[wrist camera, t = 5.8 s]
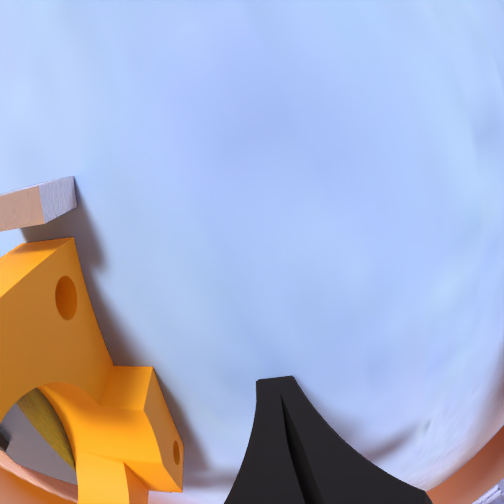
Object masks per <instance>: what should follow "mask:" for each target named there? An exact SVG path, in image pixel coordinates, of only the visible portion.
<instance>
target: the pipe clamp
mask: <svg viewBox="0 0 504 504" xmlns="http://www.w3.org/2000/svg"><path fill="white" fill-rule="evenodd" d="M36 387H37V388H38V389H39V390H40V391H41V392H42V393H43V394H44V395H45V397H46V398H47V399H48V400H49V402H50V403H51V405H52V406H53V408H54V409H55V411H56V413H57V414H58V416H59V418H60V420H61V422H62V424H63V426H64V429H65V431H66V434H67V436H68V439H69V442H70V445H71V449H72V453H73V457H74V461H75V467H76V473H77V481H78V504H147V503H148V492H149V490H153V491H165V492H181V493H182V487H183V457H184V445H183V443H182V440H181V438H180V436H179V434H178V431H177V429H176V427H175V424H174V422H173V419H172V417H171V414H170V412H169V409H168V407H167V404H166V402H165V399H164V397H163V394H162V391H161V388H160V386H159V383H158V380H157V377H156V374H155V371H154V369H153V367H141V366H114V365H113V362H112V360H111V357H110V355H109V352H108V350H107V347H106V345H105V342H104V340H103V337H102V334H101V331H100V329H99V326H98V323H97V320H96V317H95V314H94V311H93V308H92V305H91V302H90V298H89V295H88V292H87V288H86V285H85V281H84V278H83V274H82V270H81V266H80V262H79V258H78V254H77V250H76V245H75V241H74V237H69V238H61V239H53V240H45V241H37V242H29V243H22V244H20V245H19V246H17V247H16V248H14V249H13V250H11V251H10V252H8V253H7V254H5V255H4V256H2V257H1V258H0V423H1V421H2V420H3V418H4V416H5V415H6V414H7V412H8V411H9V410H10V408H11V407H12V406H13V405H14V404H15V403H16V402H17V401H18V400H19V399H20V398H21V397H22V396H23V395H25V394H26V393H28V392H29V391H31V390H32V389H34V388H36Z"/></svg>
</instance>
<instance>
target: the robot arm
mask: <svg viewBox="0 0 504 504" xmlns="http://www.w3.org/2000/svg"><path fill="white" fill-rule="evenodd" d="M256 400H257V402H256V411H255V417H254V422H253V427H252V432H251V436H250V439H249V443H248V447H247V450H246V453H245V456H244V459H243V462H242V465H241V468H240V470H239V473H238V475H237V477H236V480H235V482H234V484H233V487H232V489H231V491H230V493H229V495H228V497H227V499H226V501H225V503H224V504H433V503H432V501H431V500H430V498H429V497H428V495H427V494H426V492H425V491H423V490H421V489H418V488H416V487H414V486H411V485H409V484H407V483H405V482H403V481H401V480H399V479H397V478H395V477H394V476H392V475H390V474H388V473H387V472H385V471H384V470H382V469H380V468H379V467H377V466H376V465H374V464H373V463H371V462H370V461H368V460H367V459H366V458H364V457H363V456H362V455H361V454H359V453H358V452H357V451H356V450H354V449H353V448H352V447H351V446H350V445H349V444H347V443H346V442H345V441H344V440H343V439H342V438H341V437H340V436H339V435H338V434H337V433H336V432H335V431H334V430H333V429H332V428H331V427H330V426H329V425H328V423H327V422H326V421H325V420H324V419H323V418H322V416H321V415H320V414H319V413H318V412H317V410H316V409H315V408H314V407H313V405H312V404H311V403H310V401H309V400H308V399H307V397H306V396H305V394H304V393H303V391H302V390H301V388H300V387H299V385H298V384H297V382H296V380H295V378H294V377H293V376H285V377H277V378H268V379H259V380H258V381H256ZM472 504H504V479H502V480H501V481H500V482H499V483H497V484H496V485H495V486H494V487H492V488H491V489H490V490H488V491H487V492H486V493H485V494H483V495H482V496H481V497H480V498H479V499H477V500H476V501H475V502H473V503H472Z"/></svg>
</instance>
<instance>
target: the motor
mask: <svg viewBox="0 0 504 504" xmlns="http://www.w3.org/2000/svg"><path fill="white" fill-rule="evenodd" d="M75 207H77V201H76V194H75V187H74V178H73V176H69V177H64V178H60V179H55V180H51V181H47V182H42V183H38V184H34V185H30V186H27V187H23V188H19V189H16V190H12V191H9V192H6V193H3V194H0V232H1V231H6V230H11V229H17V228H22V227H28V226H34V225H40V224H45V223H47V222H49V221H51V220H53V219H54V218H56V217H58V216H60V215H62V214H64V213H66V212H68V211H69V210H71V209H73V208H75ZM0 450H2V451H4V452H5V453H6V454H7V455H8V456H9V457H10V458H11V459H12V460H13V461H14V462H15V463H17V464H19V465H21V466H24V467H26V468H29V469H31V470H34V471H36V472H39V473H41V474H44V475H47V476H50V477H52V478H55V479H58V480H62V481H65V482H68V483H71V484H75V485H78V481H77V473H76V467H75V461H74V457H73V453H72V449H71V445H70V442H69V439H68V436H67V434H66V431H65V429H64V426H63V424H62V422H61V420H60V418H59V416H58V414H57V413H56V411H55V409H54V408H53V406H52V405H51V403H50V402H49V400H48V399H47V398H46V397H45V395H44V394H43V393H42V392H41V391H40V390H39V389H38V388H37V387H36V388H34V389H32V390H31V391H29V392H28V393H26V394H25V395H23V396H22V397H21V398H20V399H19V400H18V401H17V402H16V403H15V404H14V405H13V406H12V407H11V408H10V410H9V411H8V412H7V414H6V415H5V416H4V418H3V420H2V421H1V423H0ZM149 491H153V490H149ZM158 492H165V491H158ZM170 493H172V492H170Z"/></svg>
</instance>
